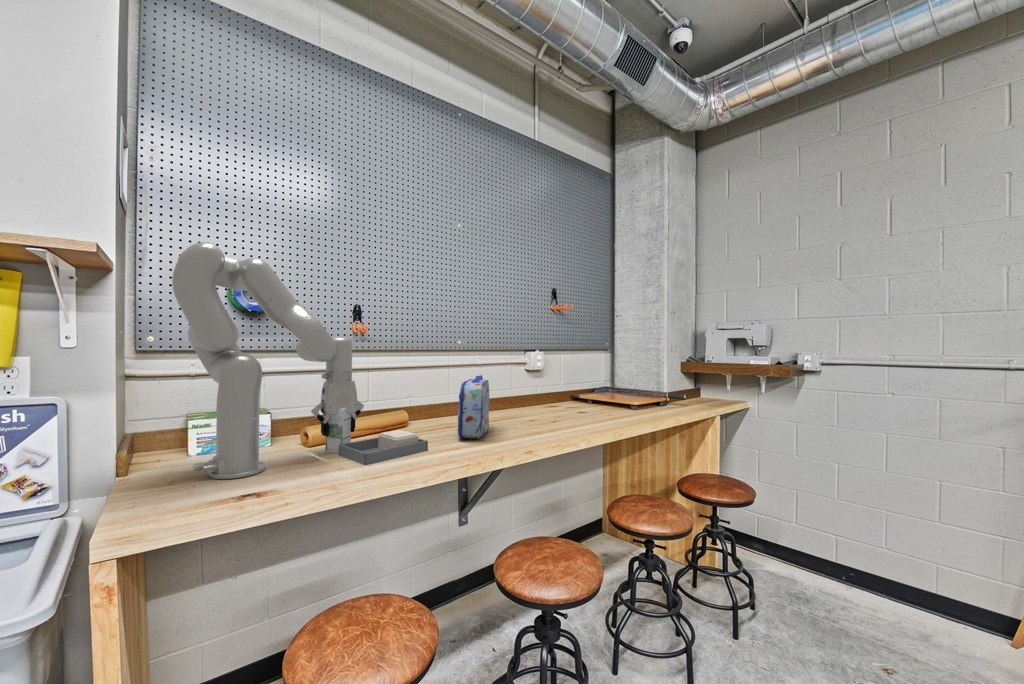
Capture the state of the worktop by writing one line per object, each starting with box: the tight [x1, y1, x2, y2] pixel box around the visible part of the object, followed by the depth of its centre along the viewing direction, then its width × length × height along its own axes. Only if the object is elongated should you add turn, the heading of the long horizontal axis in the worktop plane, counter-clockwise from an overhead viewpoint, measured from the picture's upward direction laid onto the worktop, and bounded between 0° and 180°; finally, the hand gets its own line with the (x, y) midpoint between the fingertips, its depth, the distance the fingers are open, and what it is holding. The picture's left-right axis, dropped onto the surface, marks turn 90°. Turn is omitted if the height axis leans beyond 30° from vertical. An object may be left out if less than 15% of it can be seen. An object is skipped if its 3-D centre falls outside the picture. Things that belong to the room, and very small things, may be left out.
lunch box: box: [457, 374, 490, 439], centre depth 160 cm, size 28×10×22 cm, turn 179°
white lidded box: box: [377, 429, 420, 450], centre depth 133 cm, size 8×10×5 cm
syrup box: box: [325, 408, 352, 454], centre depth 131 cm, size 6×6×14 cm
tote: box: [338, 437, 429, 466], centre depth 129 cm, size 21×15×4 cm
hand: (338, 433), depth 131 cm, fingers closed on syrup box, 7 cm apart
